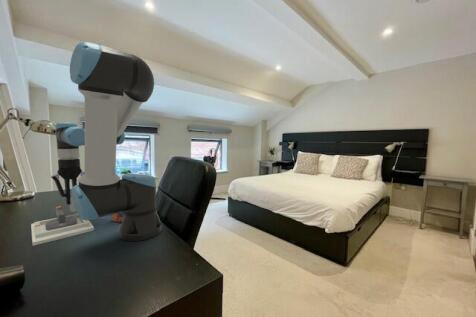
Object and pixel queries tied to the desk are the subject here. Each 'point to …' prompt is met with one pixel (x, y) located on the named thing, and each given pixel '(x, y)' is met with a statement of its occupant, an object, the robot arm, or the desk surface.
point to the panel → (58, 230)
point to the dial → (60, 220)
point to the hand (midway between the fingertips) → (72, 210)
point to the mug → (117, 217)
